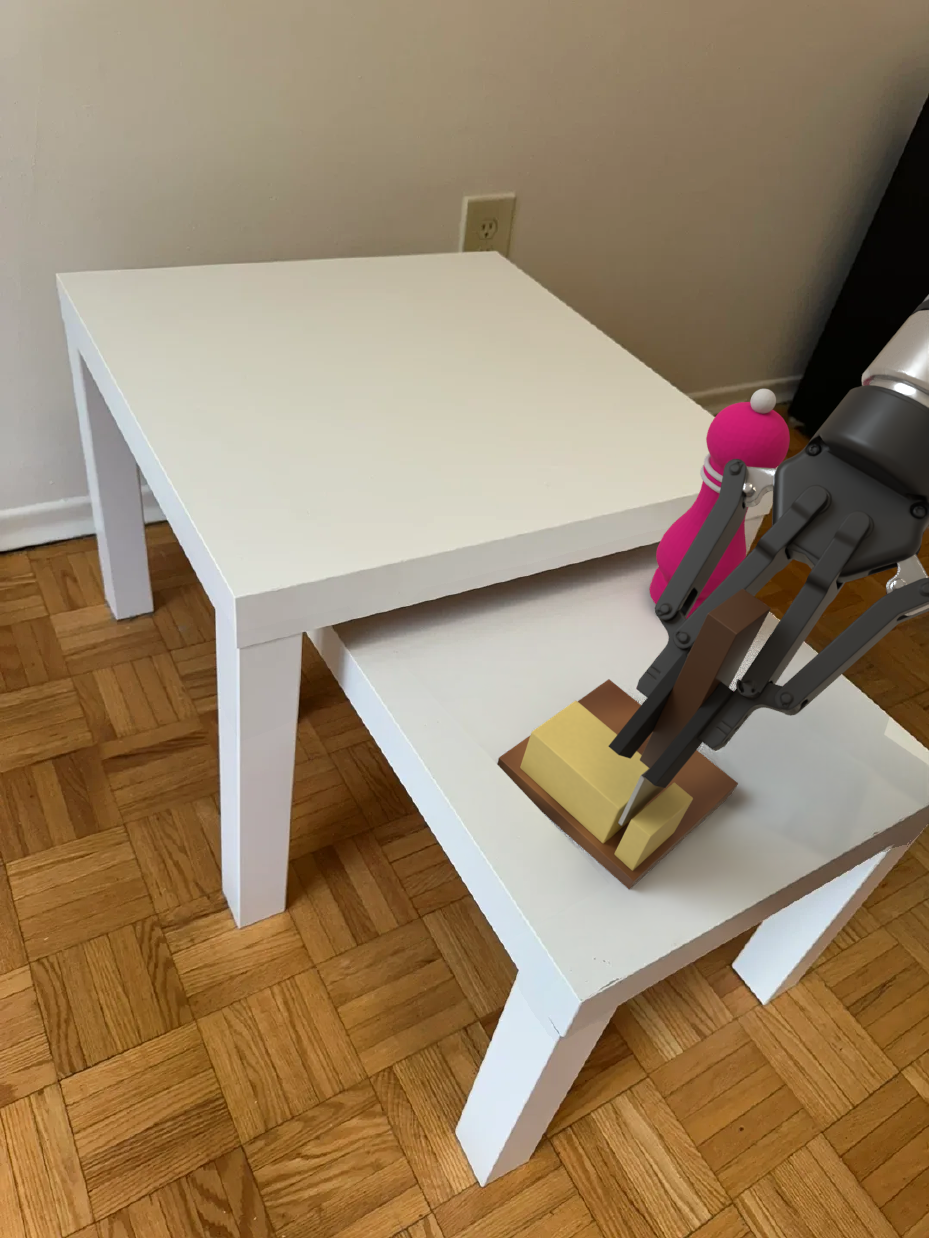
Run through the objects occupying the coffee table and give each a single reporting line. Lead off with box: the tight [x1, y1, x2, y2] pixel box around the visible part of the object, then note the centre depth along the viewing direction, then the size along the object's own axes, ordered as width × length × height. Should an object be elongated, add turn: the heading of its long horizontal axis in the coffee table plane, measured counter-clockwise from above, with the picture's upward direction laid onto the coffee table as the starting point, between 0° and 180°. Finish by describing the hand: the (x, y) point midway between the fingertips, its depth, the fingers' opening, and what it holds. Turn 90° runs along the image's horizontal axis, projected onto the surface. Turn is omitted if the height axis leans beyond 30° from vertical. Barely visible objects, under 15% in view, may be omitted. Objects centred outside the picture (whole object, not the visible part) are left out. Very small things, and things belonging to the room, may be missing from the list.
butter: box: [520, 700, 693, 871], centre depth 61 cm, size 10×4×4 cm, turn 44°
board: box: [496, 678, 739, 890], centre depth 65 cm, size 12×12×2 cm
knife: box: [618, 589, 772, 826], centre depth 53 cm, size 2×5×17 cm, turn 134°
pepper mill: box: [649, 388, 791, 619], centre depth 74 cm, size 7×7×20 cm
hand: (637, 766), depth 51 cm, fingers closed on knife, 2 cm apart
